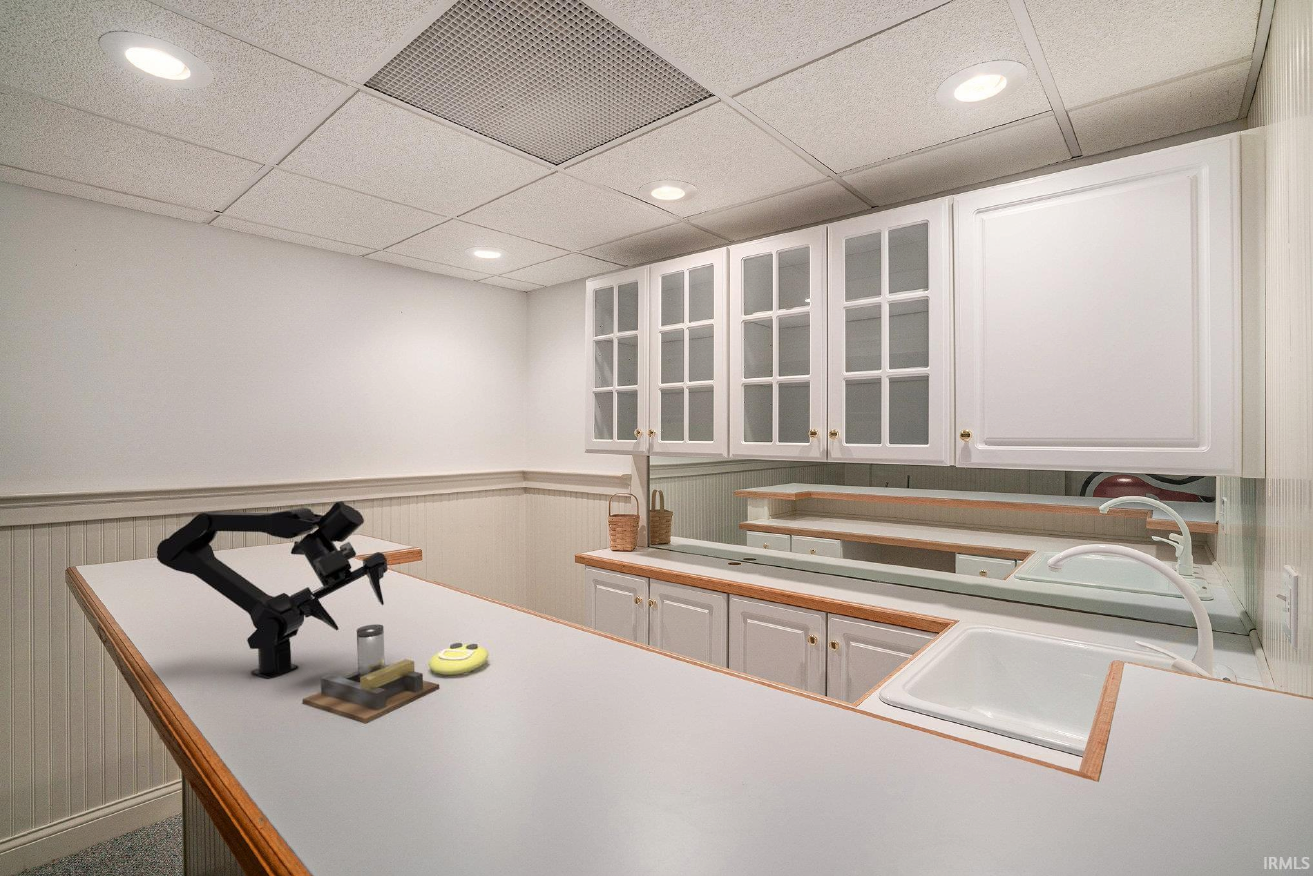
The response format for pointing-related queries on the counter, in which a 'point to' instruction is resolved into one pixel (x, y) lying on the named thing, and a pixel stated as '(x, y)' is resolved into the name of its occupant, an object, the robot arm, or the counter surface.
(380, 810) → the counter surface
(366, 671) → the metal canister
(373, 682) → the bar
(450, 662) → the emoji
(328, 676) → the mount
